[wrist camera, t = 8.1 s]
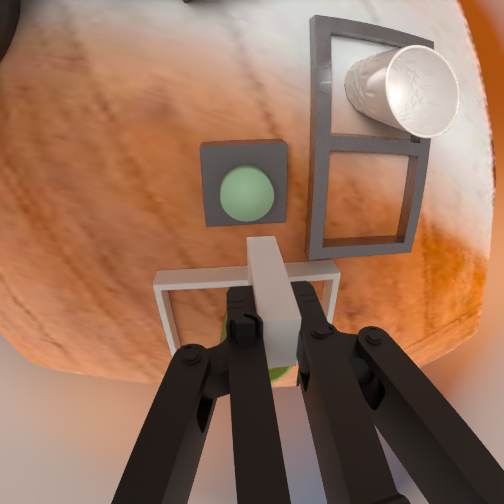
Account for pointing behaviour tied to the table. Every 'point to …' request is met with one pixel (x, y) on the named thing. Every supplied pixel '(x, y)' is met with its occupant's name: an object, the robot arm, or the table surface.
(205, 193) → the block
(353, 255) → the gray divided frame
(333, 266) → the gray rectangular frame
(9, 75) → the table surface
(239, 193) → the button
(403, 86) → the white cup
